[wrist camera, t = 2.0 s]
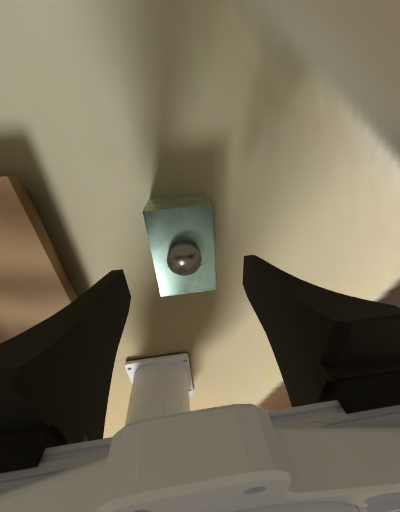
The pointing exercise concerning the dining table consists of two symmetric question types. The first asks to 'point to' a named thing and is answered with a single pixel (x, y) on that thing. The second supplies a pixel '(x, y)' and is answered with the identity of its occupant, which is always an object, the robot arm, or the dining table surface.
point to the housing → (182, 243)
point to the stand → (27, 265)
